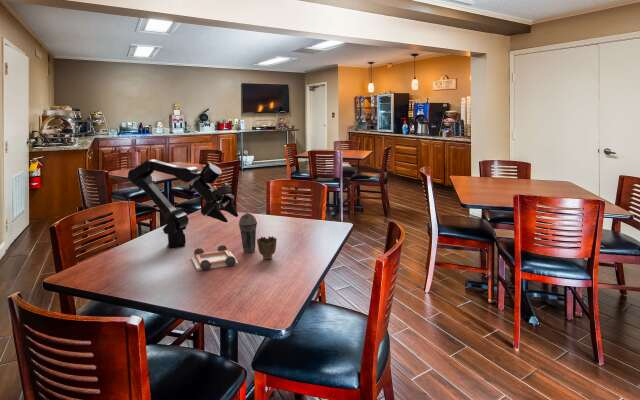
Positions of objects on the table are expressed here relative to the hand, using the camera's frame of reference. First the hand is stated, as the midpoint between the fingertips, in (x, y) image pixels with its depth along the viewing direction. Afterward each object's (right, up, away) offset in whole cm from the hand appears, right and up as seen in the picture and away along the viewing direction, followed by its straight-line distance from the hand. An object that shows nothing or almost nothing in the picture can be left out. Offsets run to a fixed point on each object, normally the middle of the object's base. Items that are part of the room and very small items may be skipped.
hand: (232, 219), depth 169 cm
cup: (+15, -15, -8) cm, 23 cm away
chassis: (-4, -16, -11) cm, 19 cm away
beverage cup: (+7, -13, +1) cm, 15 cm away
